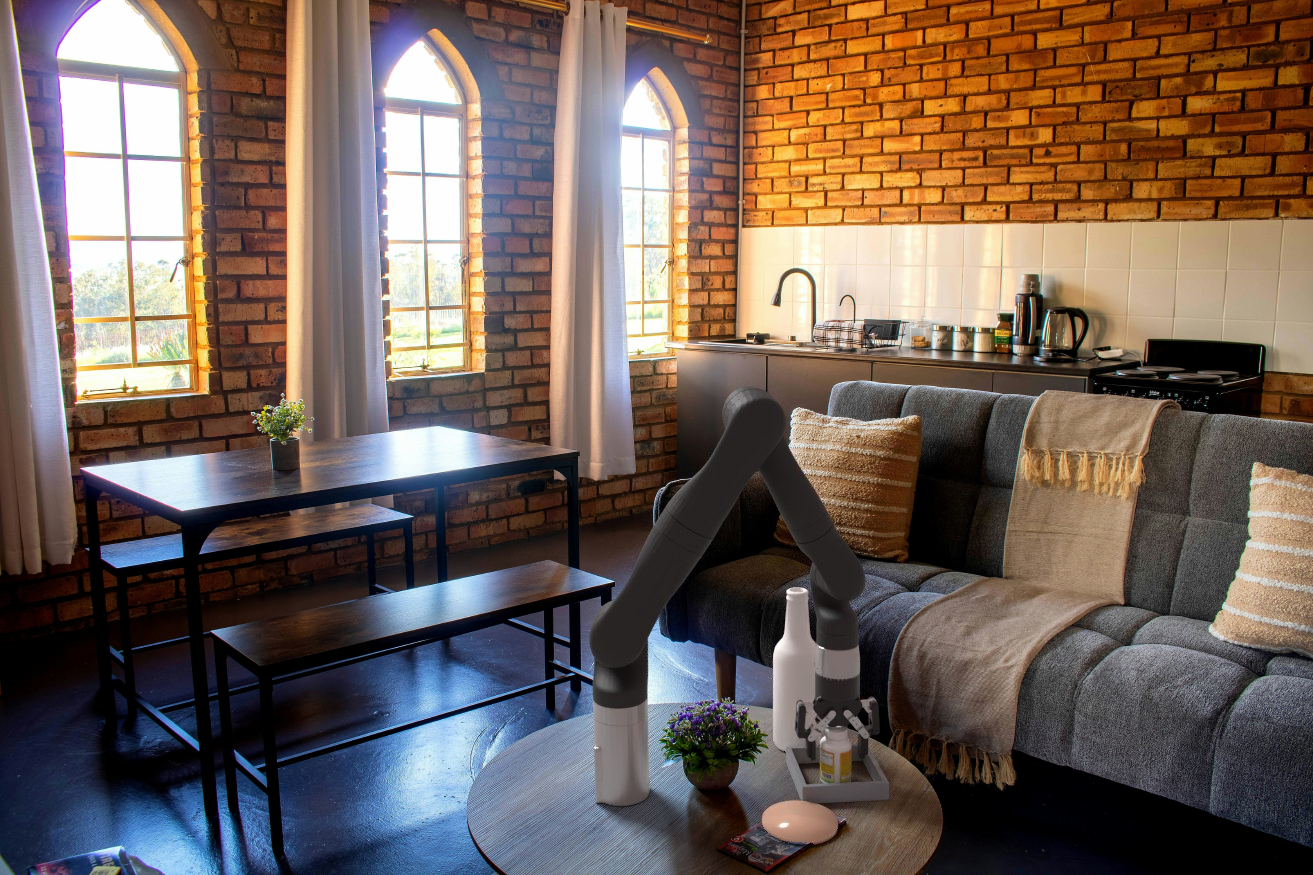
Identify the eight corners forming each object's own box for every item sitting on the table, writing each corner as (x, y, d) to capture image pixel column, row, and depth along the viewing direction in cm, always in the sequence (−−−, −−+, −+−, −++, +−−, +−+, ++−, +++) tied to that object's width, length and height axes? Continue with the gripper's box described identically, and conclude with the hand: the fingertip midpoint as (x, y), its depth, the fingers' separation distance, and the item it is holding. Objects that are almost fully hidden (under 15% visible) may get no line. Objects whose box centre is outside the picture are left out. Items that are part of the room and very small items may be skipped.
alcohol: (794, 759, 183) (795, 600, 178) (763, 741, 190) (763, 588, 185) (830, 746, 187) (832, 591, 183) (798, 729, 195) (799, 579, 190)
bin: (802, 803, 167) (802, 786, 167) (785, 762, 182) (785, 746, 181) (888, 799, 168) (889, 782, 168) (865, 758, 183) (865, 742, 182)
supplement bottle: (849, 773, 177) (850, 721, 176) (852, 788, 172) (853, 735, 171) (818, 772, 178) (819, 720, 176) (820, 787, 173) (821, 734, 171)
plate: (769, 846, 155) (769, 842, 155) (756, 806, 167) (756, 801, 167) (846, 843, 156) (846, 838, 156) (828, 803, 167) (828, 798, 167)
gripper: (800, 679, 168) (800, 770, 170) (884, 675, 168) (883, 766, 171) (791, 662, 175) (792, 749, 178) (872, 658, 176) (871, 745, 178)
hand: (836, 757), depth 174 cm, fingers open, 8 cm apart
